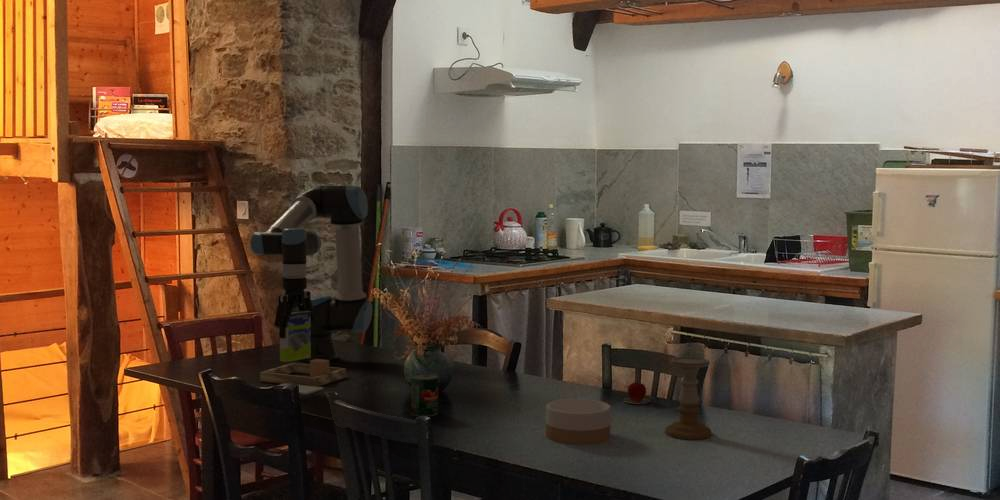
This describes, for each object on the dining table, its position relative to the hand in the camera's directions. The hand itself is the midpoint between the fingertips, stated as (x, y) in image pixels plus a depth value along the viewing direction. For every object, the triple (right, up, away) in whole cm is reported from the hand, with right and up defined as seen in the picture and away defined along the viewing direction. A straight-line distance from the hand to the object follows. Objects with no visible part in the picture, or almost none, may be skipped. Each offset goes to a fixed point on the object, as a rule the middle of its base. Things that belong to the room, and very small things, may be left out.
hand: (295, 345), depth 328 cm
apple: (+107, -16, -14) cm, 109 cm away
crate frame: (-1, -13, +17) cm, 22 cm away
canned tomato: (+44, -17, -29) cm, 55 cm away
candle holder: (+116, -19, -51) cm, 128 cm away
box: (0, -5, 0) cm, 5 cm away
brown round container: (+86, -20, -54) cm, 103 cm away
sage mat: (0, -14, +1) cm, 14 cm away
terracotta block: (+5, -13, +15) cm, 21 cm away
